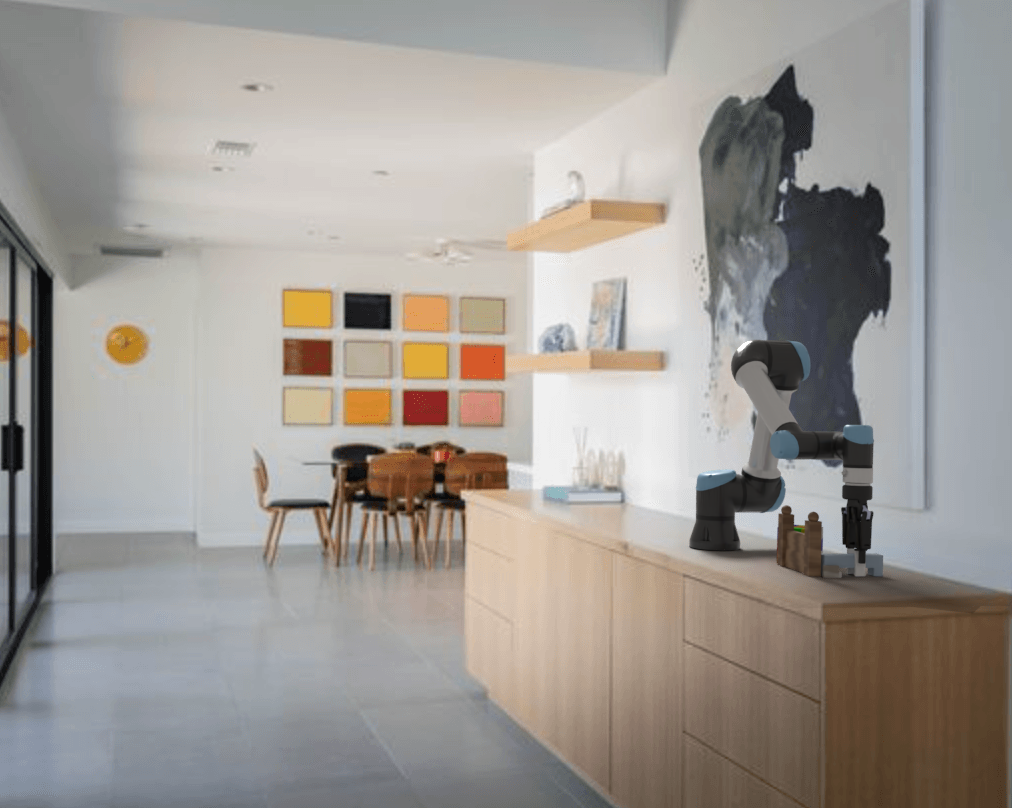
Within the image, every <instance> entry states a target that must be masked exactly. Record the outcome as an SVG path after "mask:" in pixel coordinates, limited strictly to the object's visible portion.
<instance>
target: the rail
mask: <svg viewBox="0 0 1012 808" xmlns="http://www.w3.org/2000/svg"><path fill="white" fill-rule="evenodd" d="M854 563H855V554H847V553H823V554H821V576H822V577H823V565H838V566H839V569H847V568H854ZM866 569H867V575H869V576H872V577H884V555H883V554H879V553H877V552H876V553H867V552H866ZM821 576H820V577H821Z"/></svg>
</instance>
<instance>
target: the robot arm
mask: <svg viewBox="0 0 1012 808" xmlns="http://www.w3.org/2000/svg"><path fill="white" fill-rule="evenodd" d="M730 363H731V364H730V371H731V375H732V377H733V379H734V382H735V383H736V384H737V386H739V388H741V389H744V391H745V393H746V394H747V396H748V397H749V399H750V400H751V402H752V404H753V406H754V407H755V409H756V411H757V414H756V421H755V425H754V430H753V436H752V442H751V446H750V452H749V459H748V461H747V462H745V463H744V464H743V465H742V467H741V473H737V471H736V470H735V469H732V468H731V469H715V470H708V471H702V472H701V473H699V474H698V475H697V477H696V485H695V522H694V526H693V529H692V531H691V534H690V536H689V541H688V542H689V543H688V544H689V547H690V548H692V549H697V550H705V551H736V550H737V551H738V550H740V549H741V539H740V536H739V533H738V529H737V525H736V513H739V514H740V513H741V514H742V513H751V514H752V513H753V514H755V513H757V514H758V513H759V514H764V513H772V512H776V511H777V510H779V508H780V507H781V506H782V505H783V503H784V500H785V497H786V481H785V479H784V478H783V476H782V473H781V471H780V470H779V468H778V465H779V460H786V461H791V460H792V461H793V460H794V461H795V460H796V461H797V460H798V461H799V460H805V461H806V460H812V461H813V460H818V461H819V460H820V461H821V460H822V461H823V460H825V461H830V460H831V461H835V460H836V461H842V471H841V476H842V483H844V484H842V488H841V490H842V491H841V497H842V499H844V500H847V501H846V506H844V507H843V506H842V507H840V510H841V511H840V512H841V525H842V526H841V528H842V529H841V531H842V532H841V534H842V535H841V537H842V538H841V539H842V541H841V542H842V545H844V546H845V548H846V554H855V563H854V568H846V575H847V574H848V575H853V576H854V577H866V575H867V574H866V569H867V568H866V553H867V552H868V550H871V549H872V531H873V518H874V511H873V510H869V509H868V501H872V499H873V490H874V489H873V488H874V487H873V486H872V485H871V484H873V483H874V468H873V467H874V466H873V465H874V444H875V443H874V442H875V440H874V428H873V427H872V425H868V424H865V425H864V424H845V425H844V426H843V431H835V430H827V431H826V430H825V431H818V430H817V431H816V430H815V431H811V430H807V431H806V430H803V429H802V428H801V426H800V425H799V423H798V421H797V420H796V418H795V416H794V415H793V413H792V412H791V410H790V409H789V408H790V403H791V400H792V399H791V398H792V394H793V393H795V392H797V391H798V390H799V384H800V383H801V382H804V381H806V380H807V379H808V378H809V376H810V372H811V358H810V354H809V351H808V349H807V347H806V346H805V345H804V344H803V343H802V342H799V341H792V340H788V339H786V340H783V339H782V340H779V339H778V340H777V339H775V340H774V339H773V340H771V339H766V340H765V339H751V340H748V341H746V342H743V343H742V344H741V345H740V346H739V347H738V348H736V350H735V351H734V354H733V355H732V357H731V362H730Z"/></svg>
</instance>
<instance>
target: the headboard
mask: <svg viewBox="0 0 1012 808" xmlns="http://www.w3.org/2000/svg"><path fill="white" fill-rule="evenodd" d="M780 510H781V511H780V512H781V513H780V512H779V513H778V514H777V515H778V516H777V518H778V519H777V525H778V526H777V527H778V557H777V556H776V564H777V566H779V565H780V566H779V567H785V566H786V568H788V569H791V570H794V571H796V572H799V573H802V574H803V575H805V576H806V577H821V539H822V527H823V525H822V524H823V521H822V520H819V519H820V515H819V513H818V512H816V511H810V512H809V513H808V515H807V519H806V520H804V525H805V533H801V532H798V531H794V525H795V514H793V513H792V511H793V510H792V507H791V506H790V505H783V506H782V507H781V509H780ZM842 573H843V572H842V571H840V568H839V566H838V565H823V576H822V578H825V579H827V578H830V579H833V578H835V579H838V578H842V577H843V575H842Z"/></svg>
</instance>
